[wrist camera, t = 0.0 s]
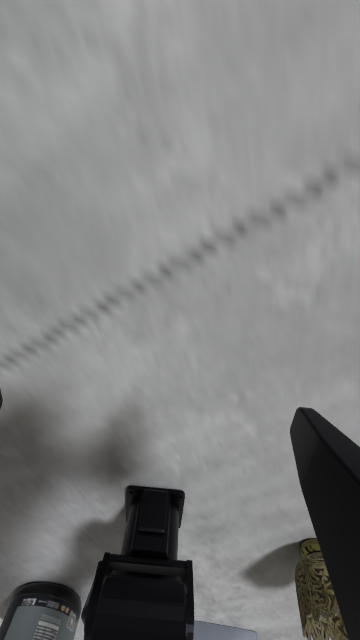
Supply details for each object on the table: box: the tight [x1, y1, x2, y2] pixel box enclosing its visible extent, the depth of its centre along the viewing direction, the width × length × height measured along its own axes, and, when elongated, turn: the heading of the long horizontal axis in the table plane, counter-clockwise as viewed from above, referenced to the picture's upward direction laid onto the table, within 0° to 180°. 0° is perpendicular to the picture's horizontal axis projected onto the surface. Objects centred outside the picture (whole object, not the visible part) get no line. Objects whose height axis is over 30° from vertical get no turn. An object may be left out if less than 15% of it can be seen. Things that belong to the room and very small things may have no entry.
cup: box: [295, 539, 349, 640], centre depth 33 cm, size 8×7×8 cm
